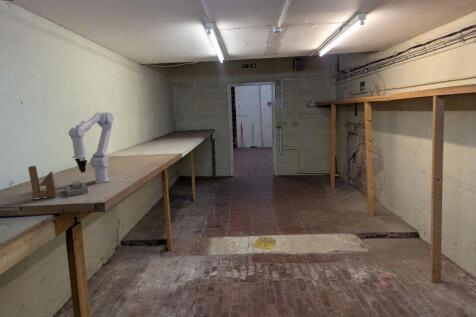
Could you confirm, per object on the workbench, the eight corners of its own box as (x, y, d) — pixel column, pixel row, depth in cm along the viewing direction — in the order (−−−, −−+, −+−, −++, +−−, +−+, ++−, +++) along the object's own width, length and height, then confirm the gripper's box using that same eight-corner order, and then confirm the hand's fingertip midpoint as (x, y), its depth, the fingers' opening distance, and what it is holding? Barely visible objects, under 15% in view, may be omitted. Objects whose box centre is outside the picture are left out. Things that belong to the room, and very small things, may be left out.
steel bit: (72, 190, 195) (70, 178, 193) (80, 189, 197) (78, 177, 195) (73, 191, 191) (71, 180, 190) (81, 190, 193) (79, 178, 192)
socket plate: (66, 190, 196) (65, 185, 195) (84, 186, 200) (83, 182, 200) (68, 196, 182) (67, 191, 181) (88, 193, 187) (87, 188, 186)
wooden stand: (55, 197, 183) (49, 165, 179) (32, 200, 180) (26, 167, 176) (56, 195, 186) (51, 163, 183) (34, 198, 183) (28, 166, 180)
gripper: (70, 147, 197) (73, 170, 199) (72, 150, 184) (76, 174, 187) (83, 146, 200) (86, 168, 203) (86, 148, 188) (89, 172, 191)
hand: (82, 171), depth 195 cm, fingers open, 7 cm apart
